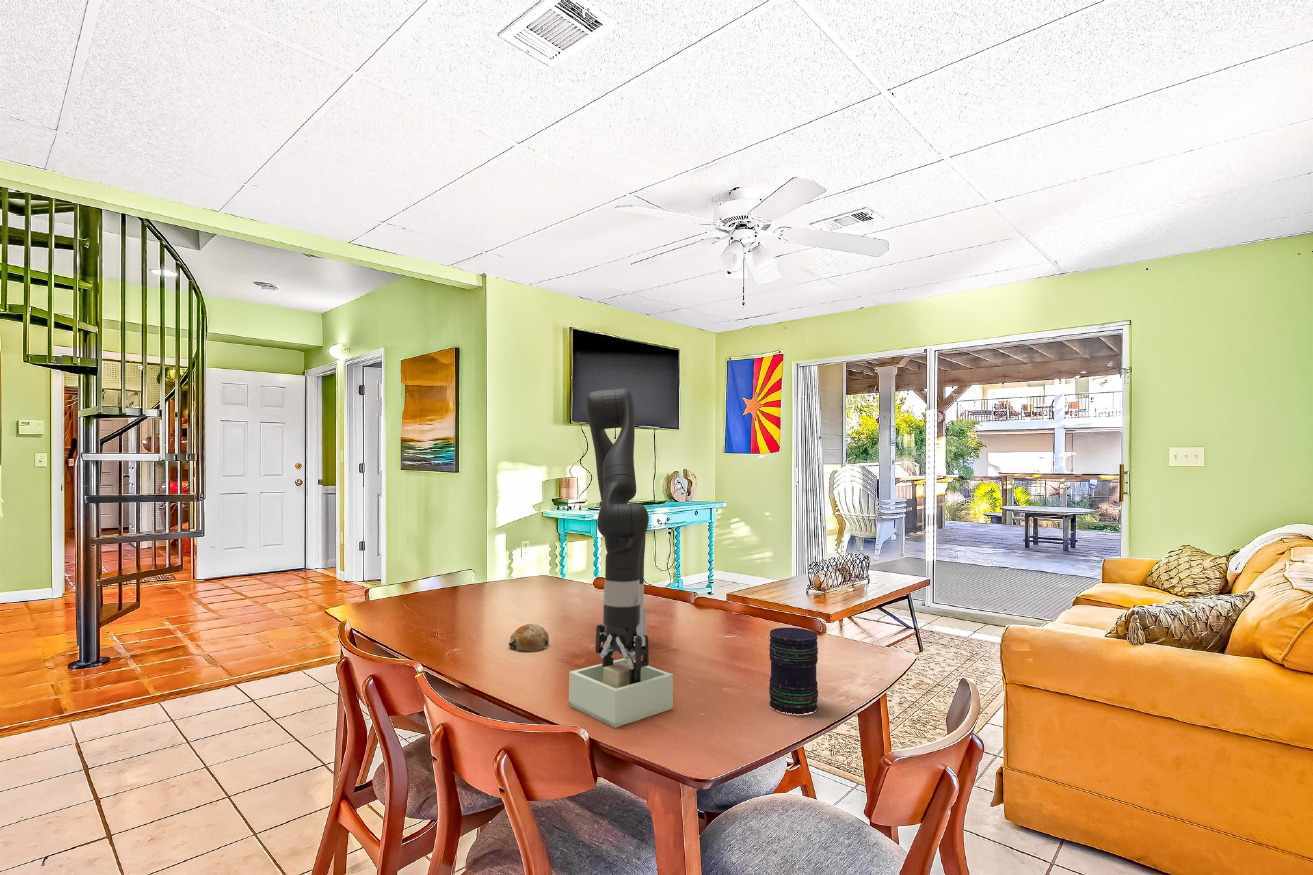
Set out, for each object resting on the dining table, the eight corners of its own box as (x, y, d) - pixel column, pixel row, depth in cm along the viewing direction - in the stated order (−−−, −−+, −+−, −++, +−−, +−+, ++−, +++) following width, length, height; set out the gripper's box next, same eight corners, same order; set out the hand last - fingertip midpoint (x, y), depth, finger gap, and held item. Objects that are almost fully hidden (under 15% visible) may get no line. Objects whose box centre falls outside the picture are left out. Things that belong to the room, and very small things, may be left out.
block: (621, 696, 135) (621, 662, 136) (636, 703, 132) (637, 668, 132) (602, 702, 132) (602, 667, 132) (617, 709, 128) (618, 673, 129)
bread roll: (537, 666, 169) (550, 639, 169) (502, 649, 169) (515, 621, 170) (544, 655, 179) (557, 629, 179) (511, 639, 179) (524, 613, 179)
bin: (625, 689, 142) (625, 657, 143) (672, 708, 131) (672, 674, 132) (568, 705, 132) (569, 671, 132) (614, 728, 121) (615, 691, 121)
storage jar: (774, 695, 139) (775, 625, 140) (821, 702, 136) (821, 630, 136) (764, 711, 130) (764, 636, 131) (813, 719, 126) (813, 641, 127)
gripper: (658, 604, 130) (657, 686, 129) (614, 593, 140) (613, 669, 140) (630, 609, 125) (629, 695, 124) (586, 598, 135) (585, 676, 135)
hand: (620, 681), depth 132 cm, fingers open, 8 cm apart
